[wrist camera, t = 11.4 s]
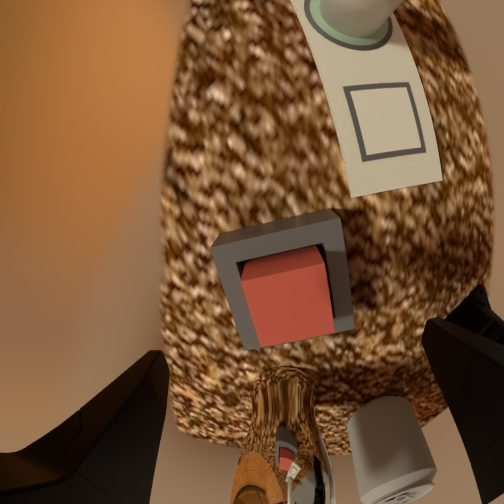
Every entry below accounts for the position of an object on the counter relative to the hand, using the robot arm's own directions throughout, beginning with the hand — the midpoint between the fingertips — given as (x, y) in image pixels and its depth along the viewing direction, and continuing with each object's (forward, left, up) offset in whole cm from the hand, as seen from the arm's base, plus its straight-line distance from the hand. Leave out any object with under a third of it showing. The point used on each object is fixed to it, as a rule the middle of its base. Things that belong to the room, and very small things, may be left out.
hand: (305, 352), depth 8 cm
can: (-21, +5, -12) cm, 25 cm away
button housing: (-1, +1, -11) cm, 11 cm away
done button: (-1, +1, -9) cm, 9 cm away
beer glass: (-10, +10, -12) cm, 18 cm away
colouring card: (+5, -13, -11) cm, 18 cm away
